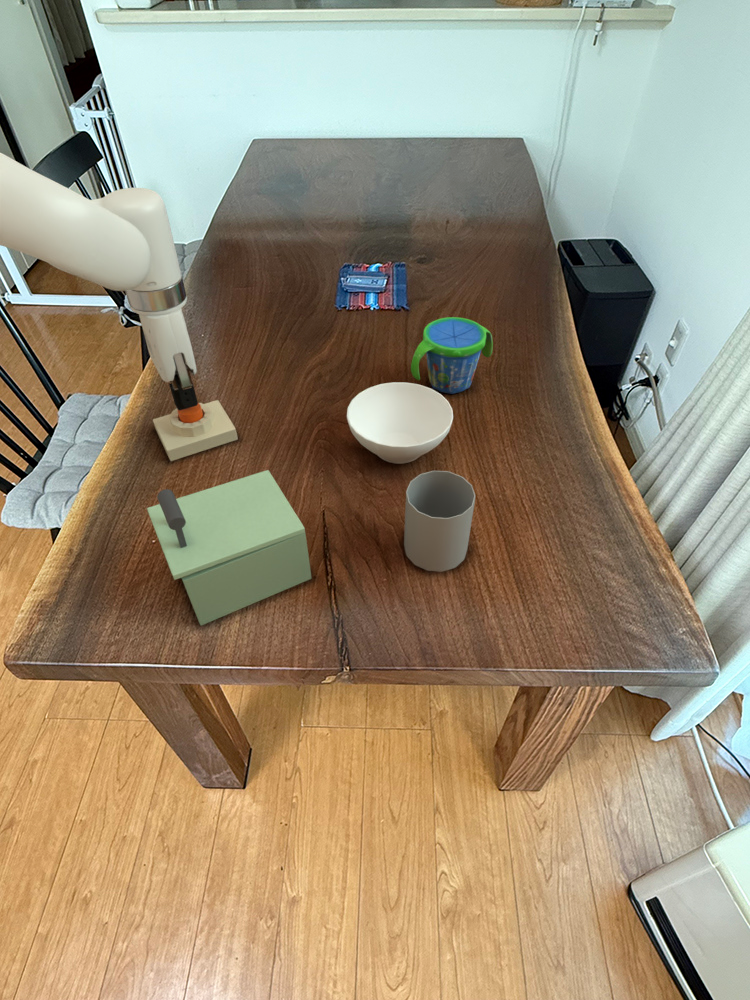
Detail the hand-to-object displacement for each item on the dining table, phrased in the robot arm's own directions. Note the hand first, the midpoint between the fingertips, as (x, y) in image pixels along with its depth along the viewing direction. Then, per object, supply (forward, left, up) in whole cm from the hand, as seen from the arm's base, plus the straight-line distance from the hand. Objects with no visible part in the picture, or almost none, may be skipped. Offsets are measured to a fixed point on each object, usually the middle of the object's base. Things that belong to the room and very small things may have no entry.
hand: (186, 405), depth 93 cm
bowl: (+27, -19, -6) cm, 34 cm away
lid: (-3, -30, +3) cm, 30 cm away
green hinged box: (-3, -30, -6) cm, 31 cm away
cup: (+21, -39, -6) cm, 45 cm away
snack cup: (+44, -8, -6) cm, 45 cm away
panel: (0, 0, -6) cm, 6 cm away
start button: (0, 0, -2) cm, 3 cm away
